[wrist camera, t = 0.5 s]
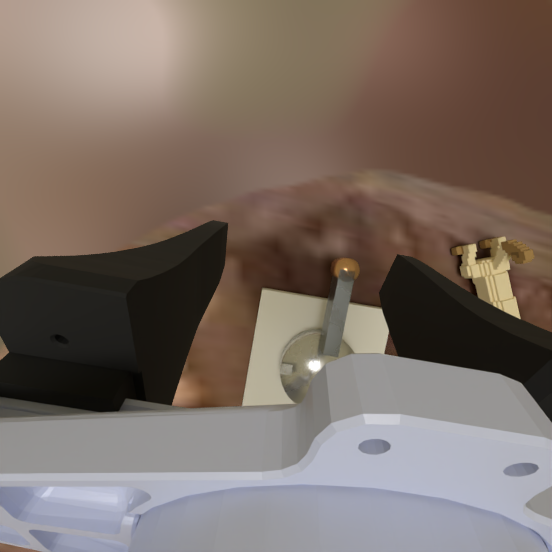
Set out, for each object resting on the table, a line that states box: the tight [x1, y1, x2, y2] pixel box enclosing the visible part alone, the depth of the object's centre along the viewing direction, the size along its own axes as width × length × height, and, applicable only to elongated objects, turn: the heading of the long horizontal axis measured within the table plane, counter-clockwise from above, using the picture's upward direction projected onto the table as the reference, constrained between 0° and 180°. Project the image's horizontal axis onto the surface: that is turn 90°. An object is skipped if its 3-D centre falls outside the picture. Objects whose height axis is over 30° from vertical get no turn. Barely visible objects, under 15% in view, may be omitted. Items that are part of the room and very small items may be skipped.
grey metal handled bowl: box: [279, 258, 360, 404], centre depth 31 cm, size 18×9×5 cm, turn 170°
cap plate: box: [242, 287, 389, 406], centre depth 34 cm, size 16×16×2 cm
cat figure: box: [451, 237, 534, 319], centre depth 32 cm, size 10×9×25 cm
